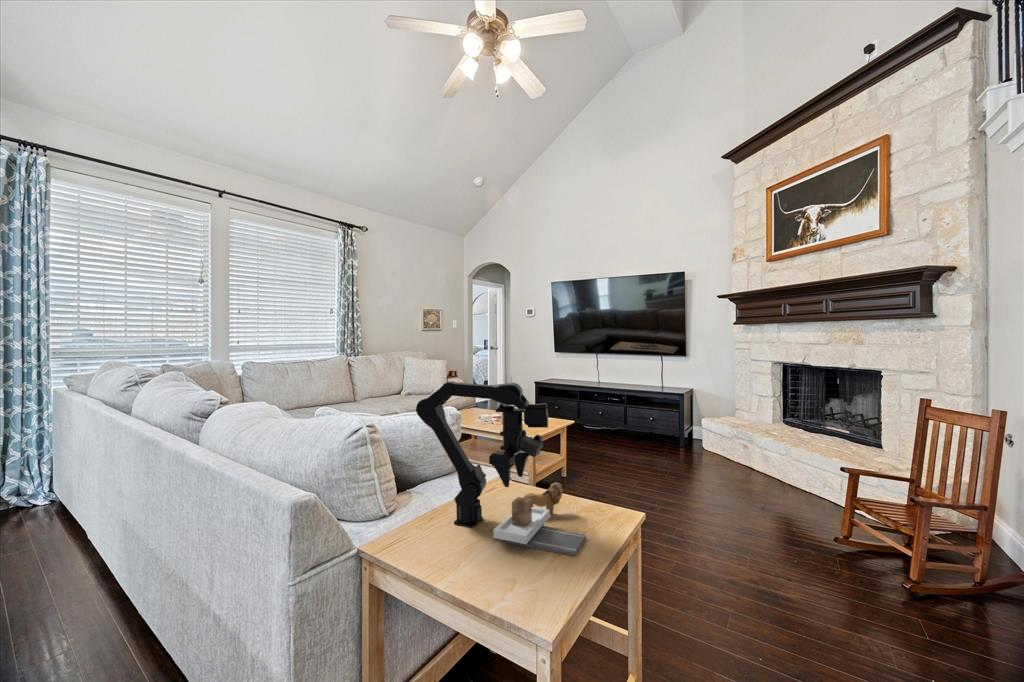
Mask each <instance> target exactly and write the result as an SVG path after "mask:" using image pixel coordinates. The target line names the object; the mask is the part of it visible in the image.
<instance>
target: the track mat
mask: <svg viewBox="0 0 1024 682" xmlns="http://www.w3.org/2000/svg"><path fill="white" fill-rule="evenodd" d="M586 538H587V536H586V534H582V533H577V532H570V531H566V530H559V529H553V528H550V527H544V526H543V527H541V528H540V529H539V530H538V531H537V532H536V533H535V535H534V536H533V537H532V539H531V541H530V542H529V543H527V544H522V543H517V542H513V541H508V540H503V539H498V538H494V537H493V540H495V541H498V542H504V543H509V544H512V545H513V544H514V545H518V546H524V547H528V548H533V549H538V550H542V551H548V552H553V553H556V554H557V553H558V554H561V555H567V556H570V557H571V556H572V557H576V555H577V553H578V552H579V550H580V549H581V547H582V545H583V543H584V541H585V540H586Z"/></svg>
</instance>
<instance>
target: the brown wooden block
mask: <svg viewBox="0 0 1024 682" xmlns="http://www.w3.org/2000/svg"><path fill="white" fill-rule="evenodd" d="M511 513H512V525H517V526H522V527H527V526H528V525H529V524H530V523H531V521H532V504H531V499H529V498H523V497H521V496H517V497H516V498H515V499H514V500H512V501H511Z"/></svg>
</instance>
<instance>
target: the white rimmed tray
mask: <svg viewBox="0 0 1024 682" xmlns="http://www.w3.org/2000/svg"><path fill="white" fill-rule="evenodd" d="M550 517H551V515H550V509H549V510H548V509H546V508H541V507H534V506H533V507H532V521H531V523H530V524H529V525H528V526H527V527H522V526H517V525H512V512H511V513H510V514H509V515H508V516H507V517H506V518H505V519H504V520H503V521H501V522H500V524H498V525H497V526H496V527H495V528H494V529H493V539H494V538H498V539H503V540H508V541H513V542H517V543H522V544H527V543H529V542H530V541H531V539H532V537H533V536H534V535H535V533H536V532H537V531H538V530H539V529H540V528H541V527H544V526H545V523H546V522H547V521H548V520H549V519H550Z"/></svg>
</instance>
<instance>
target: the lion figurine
mask: <svg viewBox="0 0 1024 682" xmlns="http://www.w3.org/2000/svg"><path fill="white" fill-rule="evenodd" d="M562 487H563V484H561V483H559V482H554V483H551V484H550V487H548V488H547V489H546V490H545V491H544V492H543V493H535V492H534V493H533V492H529V493H526V494H525V495H524V496H523V497H522V498H529V499H531V504H532V507H534V505H535V506H537V507H539V508H541V507H542V508H543V507H546V508H545V509H548V510H550V517H552V516H554V515H555V513H554V506H555V505H558V504H559V503H560V502H561V501H560V500H561V499H562V497H563V492H564V489H563V488H562ZM555 516H556V515H555ZM555 516H554V517H555Z"/></svg>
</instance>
